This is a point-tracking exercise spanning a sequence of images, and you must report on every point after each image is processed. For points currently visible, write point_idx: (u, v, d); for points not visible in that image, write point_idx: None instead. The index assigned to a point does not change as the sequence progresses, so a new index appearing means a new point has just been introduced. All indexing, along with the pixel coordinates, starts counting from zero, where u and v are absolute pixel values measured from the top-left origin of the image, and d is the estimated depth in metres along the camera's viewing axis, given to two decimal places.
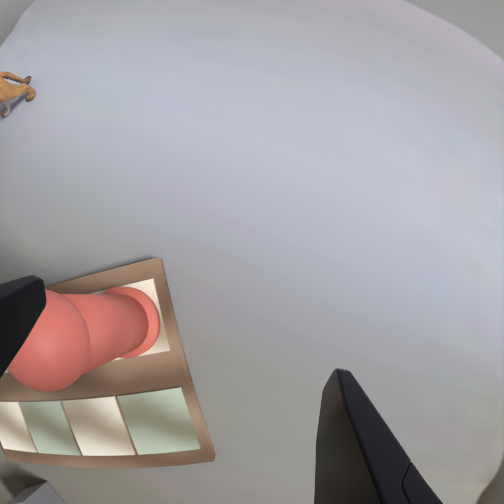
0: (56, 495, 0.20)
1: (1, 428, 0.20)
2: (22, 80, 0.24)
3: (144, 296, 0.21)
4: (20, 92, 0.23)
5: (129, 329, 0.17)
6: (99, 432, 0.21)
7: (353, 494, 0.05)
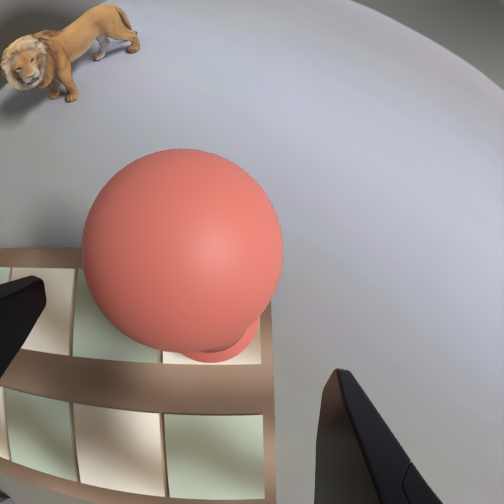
0: None
1: None
2: (131, 29, 0.24)
3: None
4: (127, 36, 0.24)
5: None
6: (118, 458, 0.14)
7: (353, 494, 0.05)
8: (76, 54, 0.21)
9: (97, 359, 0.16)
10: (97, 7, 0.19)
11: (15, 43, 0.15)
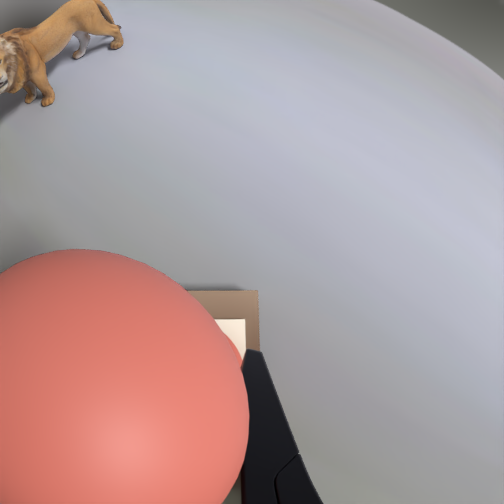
0: None
1: None
2: (113, 23, 0.21)
3: (233, 343, 0.13)
4: (108, 31, 0.20)
5: None
6: None
7: None
8: (51, 53, 0.17)
9: None
10: (74, 0, 0.16)
11: None
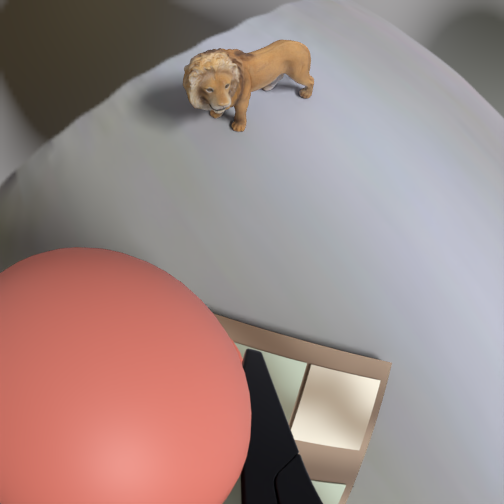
0: None
1: None
2: None
3: (233, 342, 0.13)
4: (307, 82, 0.27)
5: None
6: None
7: None
8: (259, 86, 0.24)
9: None
10: (291, 43, 0.22)
11: (211, 58, 0.18)
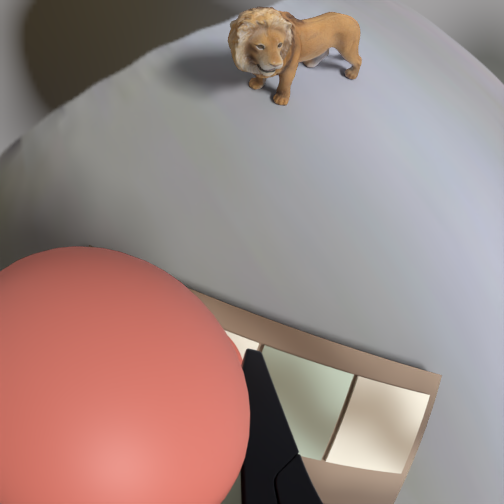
0: None
1: None
2: None
3: None
4: (355, 61, 0.23)
5: None
6: None
7: None
8: (307, 57, 0.20)
9: None
10: (343, 16, 0.19)
11: (265, 13, 0.15)
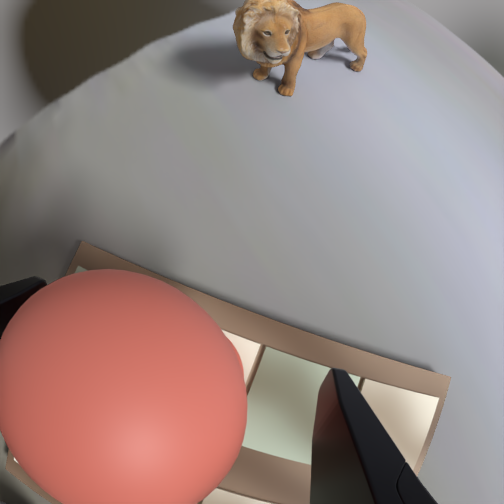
0: None
1: None
2: None
3: (232, 344, 0.14)
4: (361, 53, 0.22)
5: None
6: None
7: (347, 494, 0.05)
8: (313, 47, 0.20)
9: (259, 451, 0.14)
10: (349, 6, 0.18)
11: None
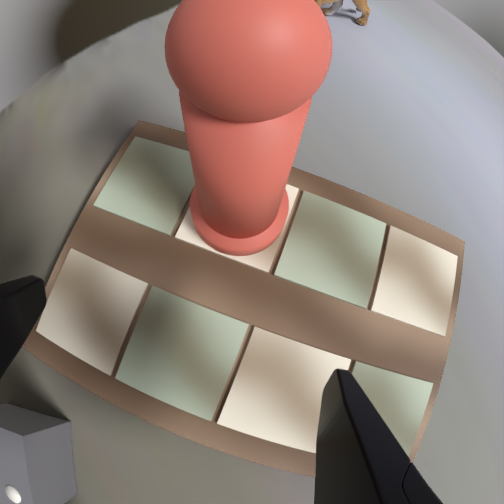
0: (69, 449, 0.13)
1: (65, 301, 0.15)
2: None
3: None
4: (365, 9, 0.25)
5: None
6: (286, 401, 0.14)
7: (353, 494, 0.05)
8: (328, 0, 0.22)
9: (303, 286, 0.16)
10: None
11: None
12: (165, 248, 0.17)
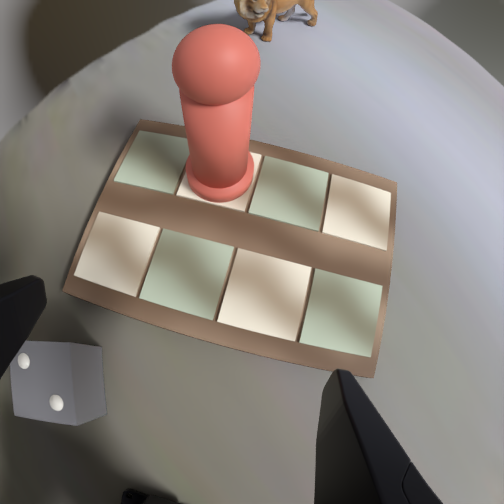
0: (101, 370, 0.20)
1: (97, 249, 0.22)
2: None
3: None
4: (313, 13, 0.32)
5: (249, 136, 0.20)
6: (266, 299, 0.21)
7: (353, 494, 0.05)
8: (281, 10, 0.29)
9: (269, 219, 0.23)
10: None
11: None
12: (170, 203, 0.23)
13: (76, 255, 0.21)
